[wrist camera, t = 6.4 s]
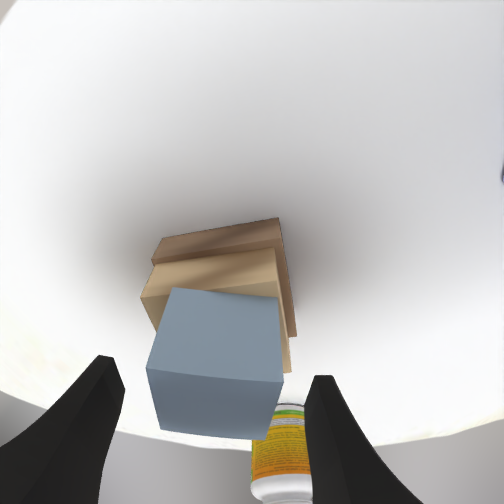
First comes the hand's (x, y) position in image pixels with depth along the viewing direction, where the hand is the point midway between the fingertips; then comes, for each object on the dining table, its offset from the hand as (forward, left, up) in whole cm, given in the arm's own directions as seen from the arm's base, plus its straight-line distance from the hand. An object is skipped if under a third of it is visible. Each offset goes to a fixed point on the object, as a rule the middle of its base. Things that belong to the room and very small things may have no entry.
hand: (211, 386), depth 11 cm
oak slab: (0, 0, -5) cm, 5 cm away
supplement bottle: (-5, +15, -8) cm, 18 cm away
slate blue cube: (0, 0, -3) cm, 3 cm away
